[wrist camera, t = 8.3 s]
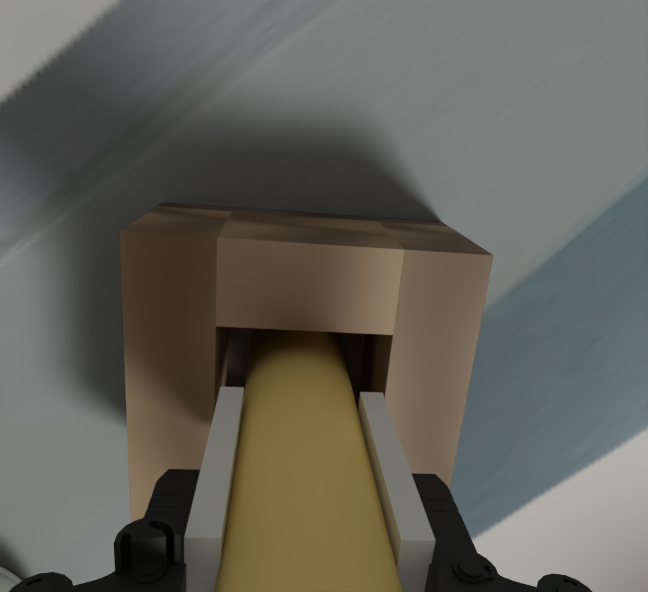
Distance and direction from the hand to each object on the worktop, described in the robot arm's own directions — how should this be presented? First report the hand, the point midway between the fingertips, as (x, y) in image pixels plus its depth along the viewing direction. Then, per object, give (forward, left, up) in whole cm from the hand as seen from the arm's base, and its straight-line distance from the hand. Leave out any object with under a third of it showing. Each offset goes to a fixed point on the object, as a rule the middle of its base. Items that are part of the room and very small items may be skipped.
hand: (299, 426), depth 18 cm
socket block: (0, 0, -7) cm, 7 cm away
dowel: (0, 0, -6) cm, 6 cm away
